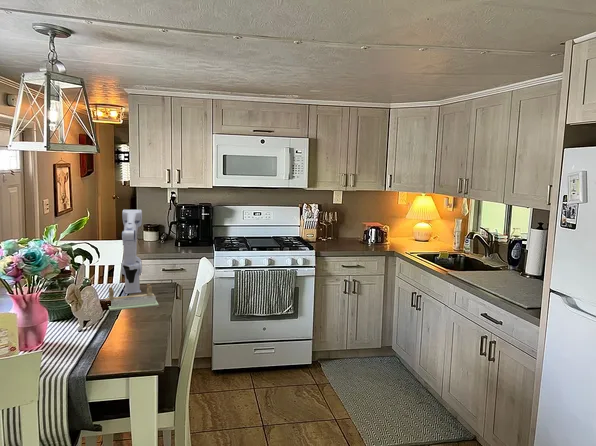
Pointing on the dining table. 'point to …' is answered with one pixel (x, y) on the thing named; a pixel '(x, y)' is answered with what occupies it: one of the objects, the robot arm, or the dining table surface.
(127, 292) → the robot arm
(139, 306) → the mat
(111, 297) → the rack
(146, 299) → the rail
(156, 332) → the dining table surface
